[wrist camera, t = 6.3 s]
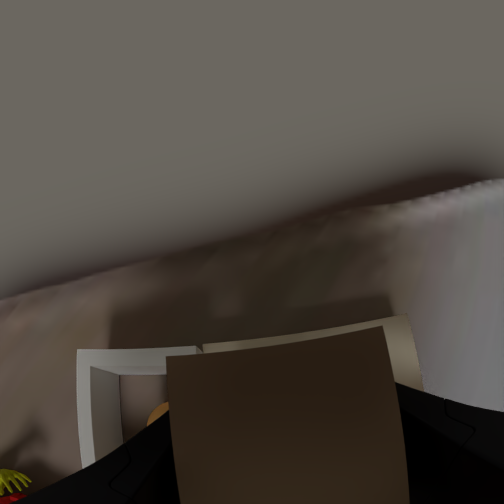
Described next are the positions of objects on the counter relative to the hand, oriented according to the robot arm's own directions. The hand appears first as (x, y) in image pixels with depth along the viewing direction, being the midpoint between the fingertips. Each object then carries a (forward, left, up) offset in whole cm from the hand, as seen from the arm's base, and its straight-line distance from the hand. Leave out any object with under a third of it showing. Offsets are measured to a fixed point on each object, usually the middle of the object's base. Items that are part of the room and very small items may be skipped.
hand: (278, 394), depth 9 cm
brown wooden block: (-2, 0, -7) cm, 7 cm away
